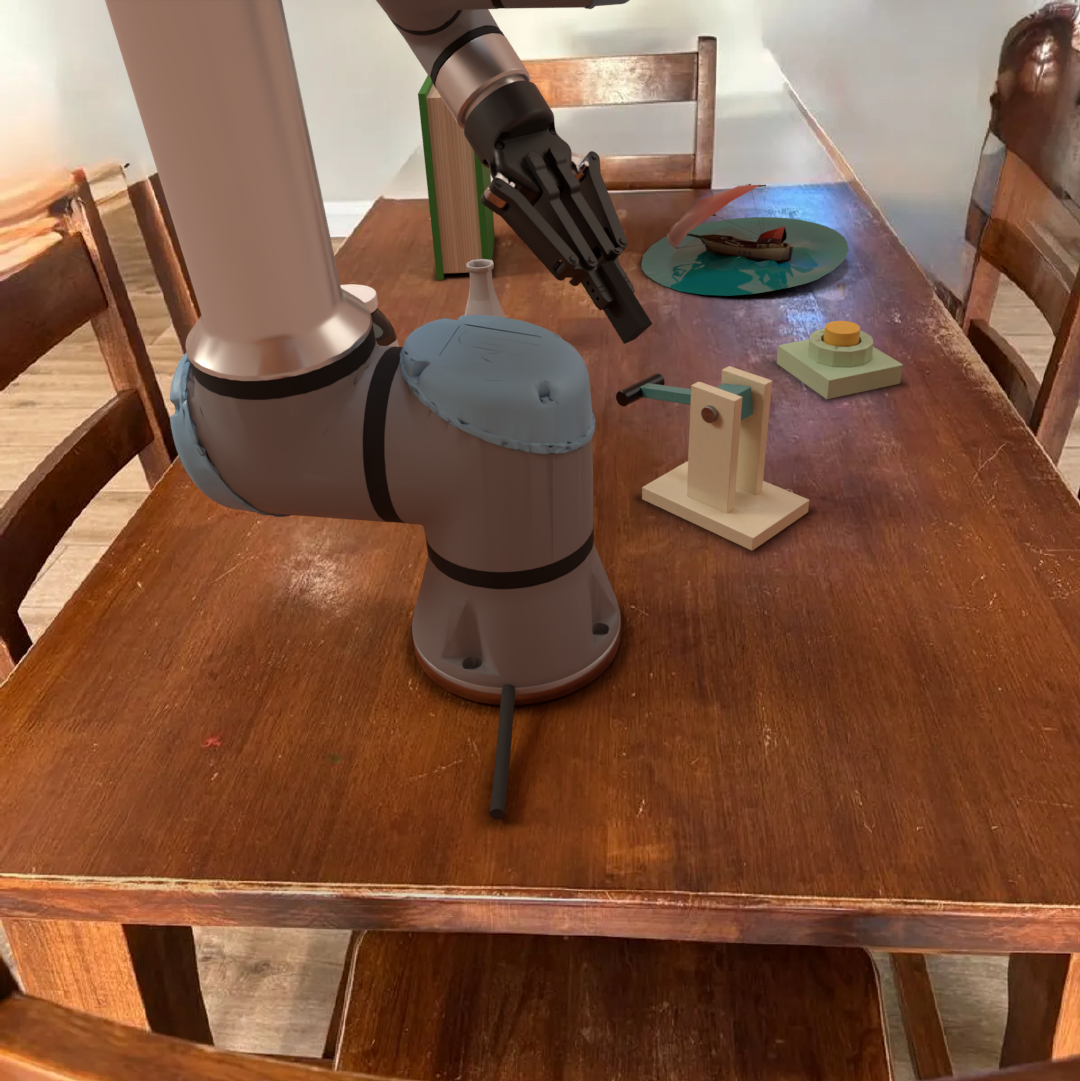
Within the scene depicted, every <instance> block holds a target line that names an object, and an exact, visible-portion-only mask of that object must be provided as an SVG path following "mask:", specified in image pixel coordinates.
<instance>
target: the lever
mask: <svg viewBox="0 0 1080 1081" xmlns="http://www.w3.org/2000/svg"><path fill="white" fill-rule="evenodd" d="M665 384H666V382H665V377H664V376H663V375H662V374H661V373H659V372H655V373H653V374H651V375H649V376H647V377H645V378H643V379H641V380H639V381H637V382H635V383H633V384H630V385H629V386H626V387H624V388H622V389H620V390H618V391H617V392H616V393H615V399H616V402H617V404H618V405H619V406H621V407H627V406H630V405H631V404H633V403H635V402H637V401H640V400H641V399H650V400H654V401H655V400H656V401H663V402H670V403H677V404H682V405H689V406H691V388H686V387H680V386H672V385H665ZM715 387H716V388H719V389H722V390H724V391H727V392H730V393H733V394H736V395H738V396H741V397H742V410H741V421H742V420H743V419H745V418H747V417H749V416H750V415H752V414H753V403H752V392H751V387H750V386H742V385H734V384H727V383H723V384H721V383H720V385H717V386H715Z"/></svg>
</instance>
